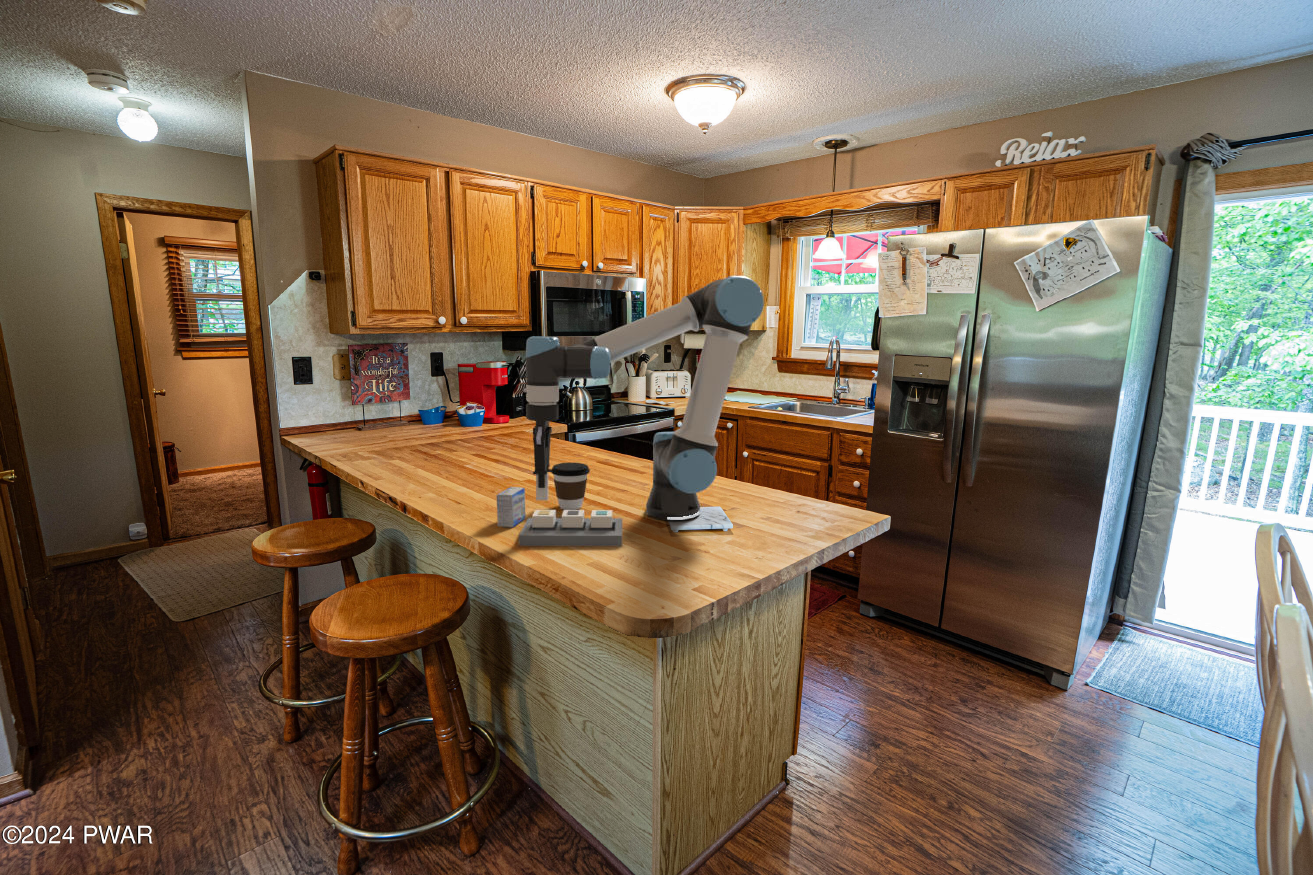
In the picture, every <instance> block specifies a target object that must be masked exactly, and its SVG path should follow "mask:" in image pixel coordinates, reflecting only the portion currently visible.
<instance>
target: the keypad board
mask: <svg viewBox="0 0 1313 875" xmlns="http://www.w3.org/2000/svg"><path fill="white" fill-rule="evenodd" d="M518 546H519V547H622V546H623V518H621V517H620V518H619V517H617V518H616V517H615V518H613V517H612V528H591V517H584V524H583V528H577V527H562V517H556V522H555V525H554V527H532V517H528V518H527V519H526V521H525V523H524V524H523V527H522V529H521V531H520V533H519V535H518Z"/></svg>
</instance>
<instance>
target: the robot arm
mask: <svg viewBox="0 0 1313 875" xmlns="http://www.w3.org/2000/svg"><path fill="white" fill-rule="evenodd" d="M764 302H765V300H764V294H763V291H762V290H761V288H760V286H759V284H758V283H756V282H755V281H754V280H753V279H752V278H750V277H747V276H742V275H730V276H727V277H725V278H722V279H716V280H714V281H711V282H710V283H708V284H706V285H705V286H702V288H699V289H697V290H695V291H693V292H692V293H690V294H687V295H685V296H683V297H682V298H681V300H680V302H678V303H676V304H673V305H671V306H668V307H666V308H664V309H661V310H659V311H656V312H653V313H652V314H649V315H647V316H644V317H641V318H639V319H637V320H634V321H632V322H630V323H627V324H625V325H622V326H619V327H617V328H615V329H613V330H610V331H608V332H605V333H603V334H600V335H598V336H594V337H593V338H591V339H588V340H585V341H583V342H581V343H575V344H573V345H571V346H570V345H568V346H567V345H560V344H561V343H560V340H559V338H558V337H556V336H530V337H528V338H527V339H526V347H525V350H526V351H525V378H526V382H525V383H526V386H525V387H524V388H523V392H524V393H526V394H525V397H526V398H525V399H526V401H527V402H528V403H527V404H525V411H526V412H525V413H526V414H525V417H526V419H527V420H529V421H534V422H535V426H534V427H533V428H532V442H533V455H534V456H533V457H534V460H533V461H534V471H532V475H535V478H536V479H535V485H536V486H535V501H545V502H546V501H549V473H551V470H552V468H551V469H550V467H551V466H550V465H551V464H550V456H551V452H550V451H551V439H552V438H551V436H552V435H551V434H552V432H553V431H552V430H553V428H552V426H550V422H555V421H557V420H558V419H559V413H560V412H559V405H558V402H559V400H560V392H559V391H560V384H559V383H560V382H559V379H560V378H561V379H593V380H598V379H607V378H608V377H609V376H610V373H611V363H613V362H615V361H618V360H620V359H622V358H626V357H627V356H630V355H633V354H635V353H637V352H640V351H642V350H645V349H647V348H649V347H652V346H654V345H656V344H660V343H662V342H664V341H666V340H669V339H672V338H674V337H676V336H678V335H681V334H684V333H686V332H689V331H694V332H698V331H701V330H703V331H704V332H705V339H704V343H703V346H702V348H701V349H702V350H701V353H700V357H699V361H698V364H697V368H696V371H695V375H694V379H693V382H692V387H691V390H690V393H689V397H688V402H687V405H686V409H685V412H684V415H683V420H682V423H681V427H680V428H678V429H677V430H675V431H661V432H660V431H659V432H656V433H655V434H654V436H653V443H652V446H653V447H652V448H653V451H652V454H653V455H652V457H653V459H652V486H651V490H650V493H649V496H648V498H647V502H646V503H645V504H646V506H645V513H646V515H647V516H649V517H651V518H653V519H657V520H662V521H668V520H667V517H683V516H689V515H693V514H695V513H697V512H698V511H699V510H700V511H701V504H700V501H699V498H698V493H700V492H703V491H705V490H707V489H708V488H709V487H710V486H711V485H712V484H713V483H714V481H715V480H716V476H717V474H718V468H717V467H718V465H717V462H716V459H715V458H716V453H717V451H718V446H719V443H718V442H717V440H716V437H715V434H716V430H717V427H718V424H719V420H720V416H721V413H722V411H723V410H722V409H723V406H724V402H725V400H726V399H725V398H726V395H727V391H728V388H729V384H730V381H731V377H732V373H733V369H734V368H735V367H734V366H735V363H736V360H737V359H736V358H737V356H738V351H739V349H740V345H741V343H743V342H744V341H745V340H747V339H748V338H749V335H750V331H751V329H752V325H753V323H755V322H756V321H757V320H758V319H759V317H760V316H761V315H762V312H763V310H764V306H765V305H764V304H765V303H764Z"/></svg>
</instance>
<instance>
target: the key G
mask: <svg viewBox="0 0 1313 875" xmlns="http://www.w3.org/2000/svg"><path fill="white" fill-rule="evenodd" d="M531 518H532V527H554V525H555V522H556V518H557V510H556V509H535V510H534V512H533V514H532V516H531Z"/></svg>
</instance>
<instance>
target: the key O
mask: <svg viewBox="0 0 1313 875" xmlns="http://www.w3.org/2000/svg"><path fill="white" fill-rule="evenodd" d="M590 518H591V528H612V518H613V509H611V510H610V509H592V510H591V514H590Z"/></svg>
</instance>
